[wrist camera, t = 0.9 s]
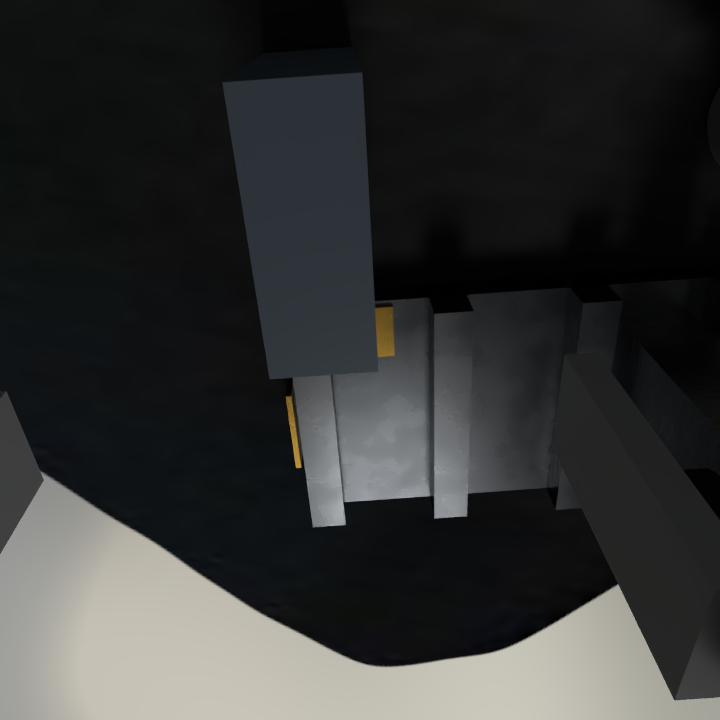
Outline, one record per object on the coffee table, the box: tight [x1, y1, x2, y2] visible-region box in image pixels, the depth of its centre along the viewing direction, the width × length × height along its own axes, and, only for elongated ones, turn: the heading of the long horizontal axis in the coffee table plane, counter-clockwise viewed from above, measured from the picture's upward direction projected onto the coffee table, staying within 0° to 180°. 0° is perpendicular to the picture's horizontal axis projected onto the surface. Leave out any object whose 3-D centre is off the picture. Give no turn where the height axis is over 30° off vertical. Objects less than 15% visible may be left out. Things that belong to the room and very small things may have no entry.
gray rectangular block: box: [222, 47, 378, 379], centre depth 25 cm, size 10×4×12 cm, turn 3°
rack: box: [286, 265, 720, 527], centre depth 32 cm, size 14×25×14 cm, turn 93°
